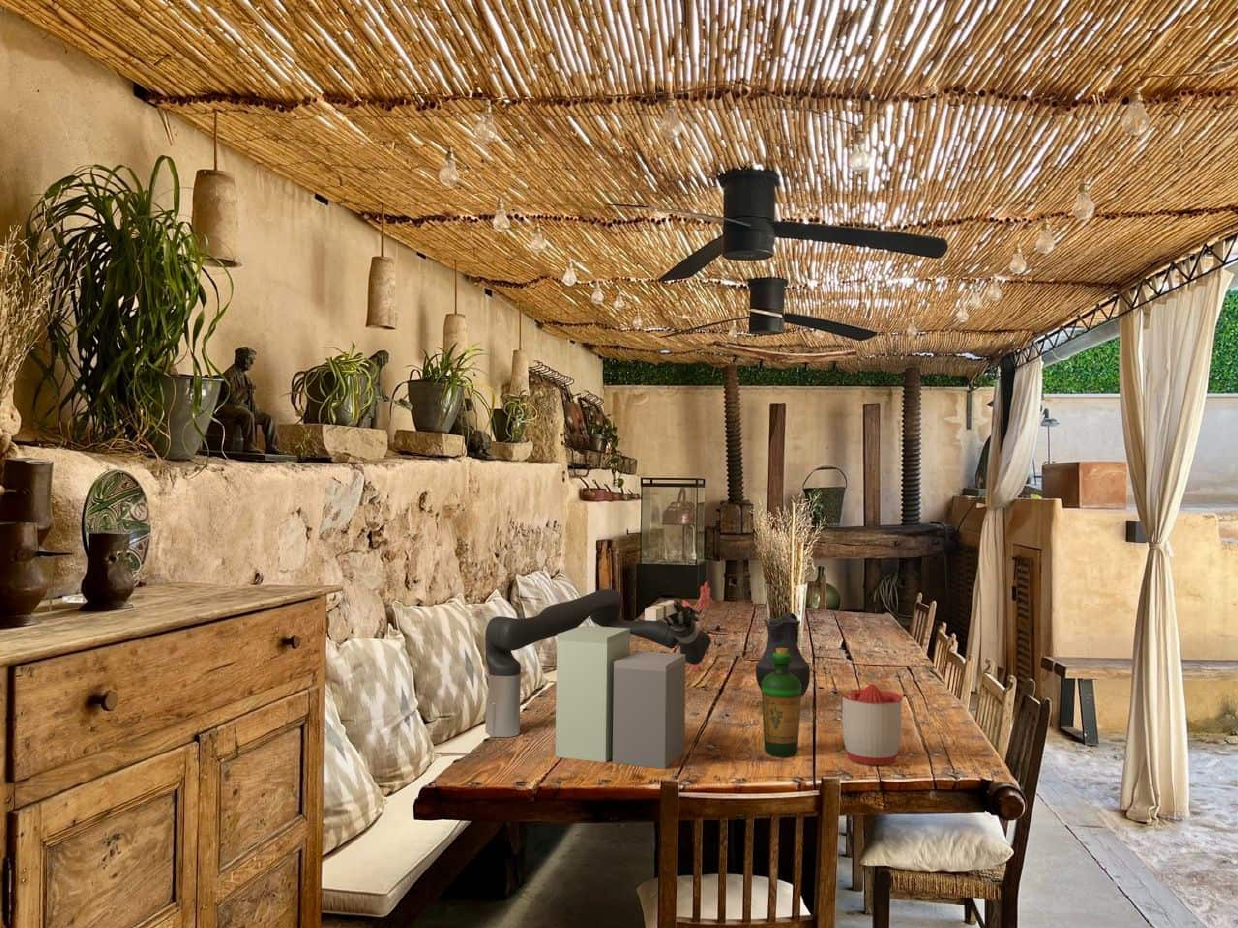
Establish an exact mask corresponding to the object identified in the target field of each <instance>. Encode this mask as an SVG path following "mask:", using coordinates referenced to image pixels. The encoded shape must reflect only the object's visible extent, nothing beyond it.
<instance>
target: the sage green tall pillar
mask: <svg viewBox="0 0 1238 928" xmlns="http://www.w3.org/2000/svg"><path fill="white" fill-rule="evenodd" d="M630 636H631V634H630V629H628V628H612V627H602V626H598V625H597V626H595V625H593V626H592V625H580V626H579V627H577V628H574V629H572V630H569V631H566V632H563V633H560V634H557V636H556V637H557V638H556V639H557V640H556V641H557V642H556V645H557V647H556V698H555V699H556V703H555V704H556V713H555V720H556V721H555V757H556V758H565V759H574V760H581V761H582V760H583V761H589V762H599V763H600V762H602V763H607V762H608V761H610V760H611V759H613V706H614V661H616V660H619V659H621V658H623V657H625V656H627V655H629V654H631V653H630V645H631V643H630V641H631V640H630V639H631V637H630Z"/></svg>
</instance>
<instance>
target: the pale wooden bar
mask: <svg viewBox="0 0 1238 928" xmlns="http://www.w3.org/2000/svg"><path fill="white" fill-rule="evenodd" d="M674 600H675V599H674ZM674 600H672V599H671V600H670V599H669V600H666V602H663V603H661V602H660V603H657V604H654V605H652V606H649V607H647V608H645V609H644V620H650V621H657V620H662V619H664V617H667V616H669V615H671V614H674V613H676V612H677V611H676V610H675V608H674ZM678 602H680V600H678Z"/></svg>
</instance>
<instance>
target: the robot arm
mask: <svg viewBox="0 0 1238 928" xmlns="http://www.w3.org/2000/svg"><path fill="white" fill-rule="evenodd" d="M666 601H667V600H666V598H665V599H664V598H662V600H660V603H663V602H666ZM678 601H679V600H677V599H674V608H675V610H676V611H677V612H676V613H674V614H671V615H669V616H667V617H664V618H663V619H664V620H662V619H659V620H657V621H650V620H645V619H642V620H633V621H632V620H631V621H630V620H626V619H623V618H621V617H620V614H621V609H622V605H623V596H622V594H621V592H619V591H618V590H615V589H611V588H604V589H599V590H596V591H593V592H591V593H588V594H585V595H584V596H582V597H579V598H575V599H572V600H568V601H564V602H559V603H556V604H553V605H552V604H551V605H549V606H547V607H545V608H543V609H542V610H541V611H540V612H539V614H537V615H535V616H530V617H523V618H516V617H508V616H503V615H502V616H501V615H498V616H494V617H493V618H491V619H490V620H489V622H488V623H487V625H486V628H485V629H486V630H485V634H484V635H485V638H484V642H485V662H486V665H487V668H488V685H487V686H488V687H487V688H488V690H487V691H488V692H487V697H488V698H486V699H485V730H484V731H485V734H487V735H488V736H489V737H491V738H511V737H512V738H513V737H515V736H516V737H517V736H518V735H520V734H521V695H522V694H521V693H522V692H521V689H522V685H521V684H522V683H521V682H522V681H521V679H522V664H521V662H519V661H518V660H517V659H516V658H515V657H514V655H513V653H512V651H517V650H521V649H522V648H525V647H527V646H529V645H532V644H534V643H536V642H538V641H540V640H541V641H542V640H545V639H550V638H553V637H554V638H555V637H557V634H560V633H563V632H566V631H569V630H572V629H574V628H577V627H580V626H582V624H583V623H584V622H585V621H586V620H587V619H588V618H589V619H590V620H591V621H592V623H593V624H595V625H597V626H599V627H612V628H628V629H630V636H631V635H632V636H637V637H639V638H643V639H645V640H648V641H650V642H651V641H652V642H653V643H655V644H657V645H661V646H663V647H665V648H667V649H671V650H672V649H675V648H676V647H677V646H678V645H679V654H685V663H687V664H690V665H691V664H692V665H699V664H702V663H701V662H703V660H704V658H705V656H706V653H707V651H708V649H709V647H710V645H711V642H712V639H711V637H710V635H709V634H708V633H707V632H705V631H704V630H702V629H701V630H700V628H698V624H697V623H698V622H700V618H699V616H700V614H701V613H700V612H699V611H696V610H697V609H695V610H694V607H692V606H691V605H690V606H691V607H692V608H691V607H690V606H686V607H683V605H682V603H681V602H680V601H679V602H678ZM689 611H690V612H689Z"/></svg>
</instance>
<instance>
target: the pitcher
mask: <svg viewBox="0 0 1238 928" xmlns="http://www.w3.org/2000/svg"><path fill="white" fill-rule="evenodd" d="M763 621H764V624H765V626H766V631H767V641H766V648H765V650H764V652H763V655H762V657H761V658H760V660H759V661H758V662H757V663H756V667H755V675H756V676H755V677H756V682H757V684H758V687H759V689H760V691H762V681H763V679H764V678H765V676H767V675H768V674H770V673H771V672H774V663H772V662H771V661H772V656H773V653H776V648H787V649H788V651H787V653H790V655H791V660H792V663H790V667H789V672H790V673H792V674H793V675H795V676H796V677H797V678H798V679H799V681H800V683H801V684H802V685H801V698H802V697H803V696H804V695H805V694H806V692H807V690H808V688H809V686H810V680H811V671H810V670H811V669H810V668H811V667H810V665H809V663H808V661H806V660H805V659H804V657H803V655H802V653H801V651H800V649H799V646H798V637H799V625H800V624H801V621H800V620H798V618H797V616H796V614H795V613H794V612H789V611H788V612H785V613H784V614H783V615H782V616H781V617H778V618H775V617H774V618H764V619H763Z"/></svg>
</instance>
